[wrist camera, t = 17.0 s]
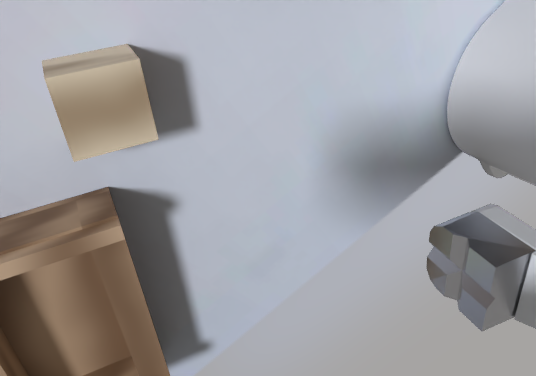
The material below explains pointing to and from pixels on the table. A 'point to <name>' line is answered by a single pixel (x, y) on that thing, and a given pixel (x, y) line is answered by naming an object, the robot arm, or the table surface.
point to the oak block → (100, 100)
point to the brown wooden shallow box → (73, 294)
